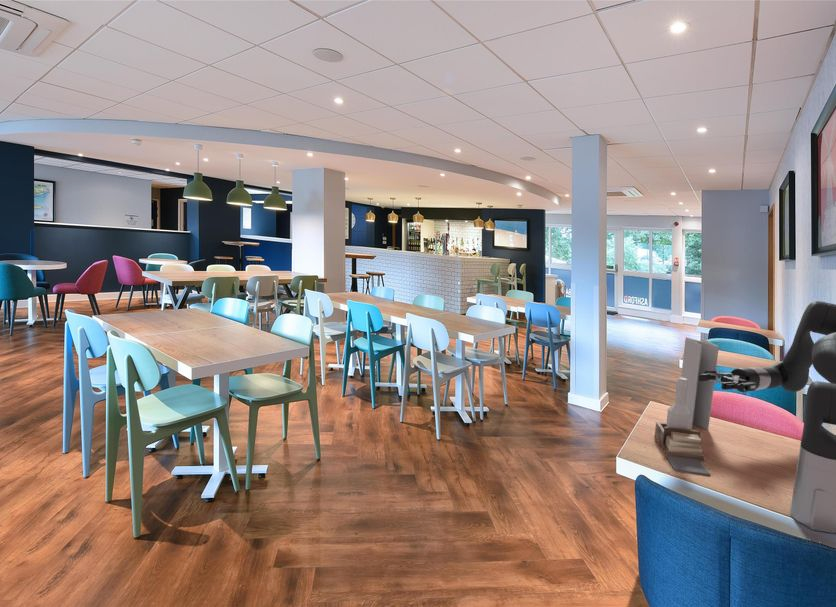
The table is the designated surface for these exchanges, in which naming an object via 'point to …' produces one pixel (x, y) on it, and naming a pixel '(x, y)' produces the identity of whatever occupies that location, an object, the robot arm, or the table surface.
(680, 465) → the mat
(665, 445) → the offcut rack
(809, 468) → the robot arm
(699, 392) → the brochure
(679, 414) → the low poly bottle
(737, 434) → the table surface
